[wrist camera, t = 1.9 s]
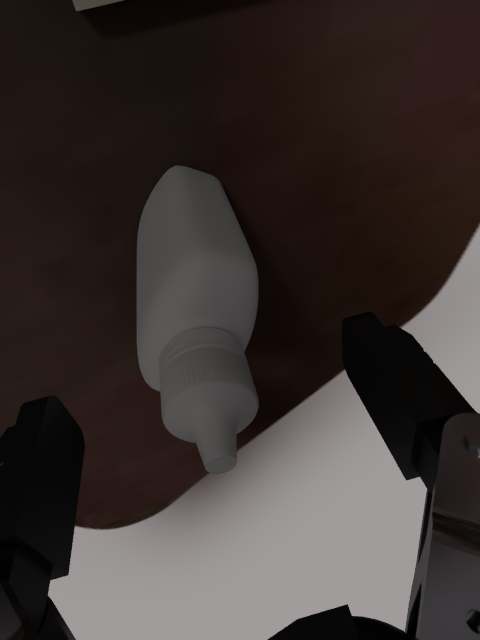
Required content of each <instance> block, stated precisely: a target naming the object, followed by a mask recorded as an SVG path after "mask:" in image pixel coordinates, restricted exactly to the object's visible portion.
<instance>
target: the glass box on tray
mask: <svg viewBox="0 0 480 640" xmlns="http://www.w3.org/2000/svg"><path fill="white" fill-rule="evenodd" d="M72 1H73V4H74V7H75V9H76V11H81V10H85V9H89V8H94V7H98V6H102V5H107V4H111V3H115V2H120V1H124V0H72Z"/></svg>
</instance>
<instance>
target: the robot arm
mask: <svg viewBox="0 0 480 640" xmlns="http://www.w3.org/2000/svg"><path fill="white" fill-rule="evenodd" d="M342 345H343V362H344V367H345V370H346V372H347V375H348V377H349V379H350V381H351V382H352V384H353V386H354V388H355V390H356V392H357V393H358V395H359V397H360V399H361V400H362V402H363V404H364V406H365V407H366V409H367V411H368V413H369V415H370V417H371V418H372V420H373V422H374V424H375V425H376V427H377V429H378V431H379V433H380V434H381V436H382V438H383V440H384V442H385V443H386V445H387V447H388V449H389V450H390V452H391V454H392V456H393V457H394V459H395V461H396V463H397V465H398V467H399V468H400V470H401V472H402V474H403V475H404V477H405V479H406V480H409V479H413V478H416V477H421V479H422V481H423V482H424V484H425V486H426V487H427V493H426V500H425V508H424V514H423V521H422V528H421V534H420V541H419V548H418V556H417V562H416V568H415V574H414V579H413V584H412V590H411V595H410V601H409V608H408V614H407V621H406V628H405V632H404V631H402V630H400V629H398V628H396V627H394V626H392V625H390V624H388V623H385V622H382V621H379V620H376V619H371V618H366V617H359V616H352V615H351V613H350V610H349V607H348V605H344V606H340V607H337V608H334V609H331V610H327V611H324V612H320V613H317V614H313V615H310V616H307V617H303V618H300V619H297V620H296V621H294V622H293V623H291V624H290V625H288V626H287V627H285V628H284V629H283V630H281V631H280V632H278V633H277V634H275V635H274V636H273V637H271V638H269V639H268V640H480V414H478V413H477V412H476V411H475V410H474V409H473V408H472V407H471V406H470V405H469V403H468V402H467V401H466V400H465V399H464V397H463V396H462V395H461V394H460V393H459V392H458V390H457V389H456V388H455V386H454V385H453V384H452V383H451V382H450V380H449V379H448V378H447V377H446V376H445V374H444V373H443V372H442V371H441V370H440V368H439V367H438V366H437V365H436V364H434V363H433V360H432V359H431V358H430V356H429V355H428V354H427V353H426V352H424V350H423V348H422V347H421V345H420V344H419V343H418V342H417V341H416V340H415V338H414V337H413V336H412V335H411V334H409V333H408V332H406V331H404V330H402V329H401V328H399V327H398V326H396V325H391V326H388V327H383V325H382V324H381V323H380V321H379V320H378V319H377V318H376V316H375V315H374V314H373V313H372V312H366V313H363V314H359V315H355V316H351V317H348V318H344V319H343V322H342ZM84 450H85V443H84V437H83V433H82V430H81V428H80V427H79V425H78V424H77V423H76V421H75V420H74V419H73V417H72V416H71V414H70V413H69V412H68V410H67V409H66V408H65V406H64V405H63V404H62V402H61V401H60V400H59V398H58V397H56V396H54V395H52V396H48V397H44V398H41V399H37V400H33V401H29V402H26V403H24V404H23V405H22V406H21V408H20V411H19V414H18V418H17V421H16V424H15V426H12V427H8V428H7V429H6V431H5V432H4V434H3V435H2V436H1V438H0V640H76V639H75V637H74V636H73V634H72V633H71V631H70V629H69V628H68V626H67V624H66V623H65V621H64V619H63V618H62V617H61V615H60V613H59V612H58V610H57V608H56V606H55V605H54V603H53V602H52V600H51V599H50V598H49V597H48V591H49V584H50V580H53V579H56V578H60V577H63V576H67V575H68V573H69V565H70V558H71V550H72V542H73V535H74V527H75V519H76V512H77V504H78V496H79V489H80V481H81V473H82V466H83V458H84Z"/></svg>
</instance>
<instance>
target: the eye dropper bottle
mask: <svg viewBox="0 0 480 640" xmlns="http://www.w3.org/2000/svg"><path fill="white" fill-rule="evenodd" d="M257 306H258V273H257V267H256V263H255V261H254V258H253V256H252V253H251V251H250V248H249V246H248V243H247V241H246V239H245V237H244V234H243V232H242V230H241V227H240V225H239V223H238V221H237V218H236V216H235V214H234V212H233V209H232V207H231V205H230V203H229V201H228V198H227V196H226V194H225V192H224V189H223V187H222V185H221V183H220V181H219V180H218V179H217V178H216V177H214V176H212V175H210V174H207V173H204V172H201V171H198V170H195V169H192V168H189V167H185V166H174V167H172V168H170V169H169V170H168V171H167V172H166V173H165V174H164V175H163V176H162V178H161V179H160V180H159V181H158V183H157V184H156V186H155V187H154V189H153V191H152V192H151V194H150V196H149V198H148V200H147V202H146V204H145V207H144V210H143V212H142V216H141V219H140V223H139V229H138V237H137V352H138V360H139V366H140V369H141V373H142V375H143V377H144V379H145V382H146V383H147V384H148V385H149V386H150V387H151V388H153V389H155V390H158V391H160V392H161V409H162V419H163V423H164V426H165V427H166V429H168V431H169V432H170V433H171V434H173V435H174V436H176V437H178V438H180V439H182V440H185V441H188V442H194V443H196V444H197V447H198V449H199V452H200V455H201V458H202V460H203V463H204V466H205V468H206V470H207V471H208V472H210V473H214V474H219V473H224V472H227V471H229V470H231V469H232V468H233V467H234V466H235V465H236V434H237V433H239V432H241V431H242V430H243V429H245V428H246V427H247V426H248V425H249V424H250V423H251V422H252V420H253V419H254V417H255V416H256V414H257V411H258V407H259V401H258V400H259V399H258V396H257V393H256V389H255V386H254V383H253V379H252V376H251V373H250V369H249V366H248V363H247V359H246V356H245V353H244V351H245V349H246V347H247V345H248V342H249V340H250V337H251V334H252V331H253V327H254V324H255V319H256V314H257Z"/></svg>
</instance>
